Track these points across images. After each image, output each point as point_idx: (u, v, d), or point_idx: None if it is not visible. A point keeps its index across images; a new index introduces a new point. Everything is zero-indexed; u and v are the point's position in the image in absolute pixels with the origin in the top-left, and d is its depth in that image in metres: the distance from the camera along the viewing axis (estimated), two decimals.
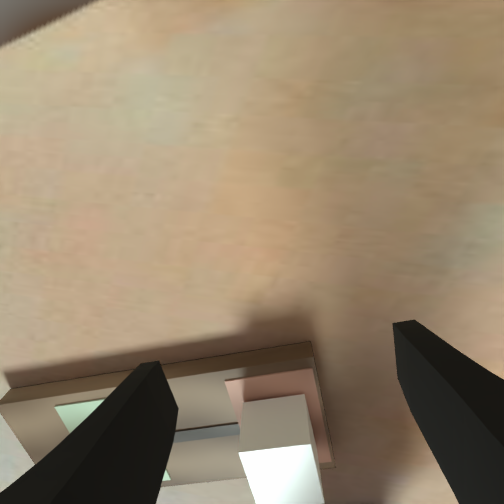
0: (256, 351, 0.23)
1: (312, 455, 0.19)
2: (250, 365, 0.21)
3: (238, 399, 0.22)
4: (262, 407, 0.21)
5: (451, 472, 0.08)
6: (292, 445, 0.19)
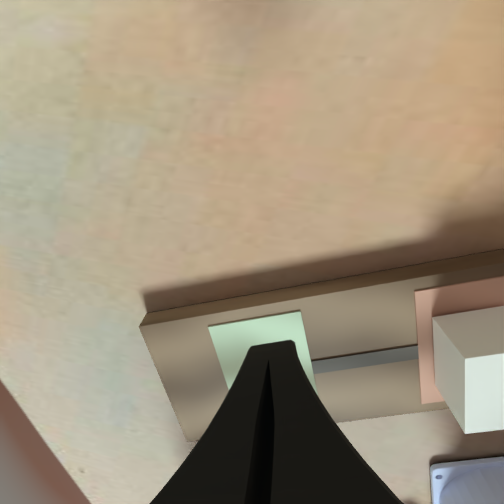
0: (443, 261, 0.20)
1: None
2: (448, 271, 0.19)
3: (424, 315, 0.20)
4: (462, 319, 0.19)
5: None
6: None
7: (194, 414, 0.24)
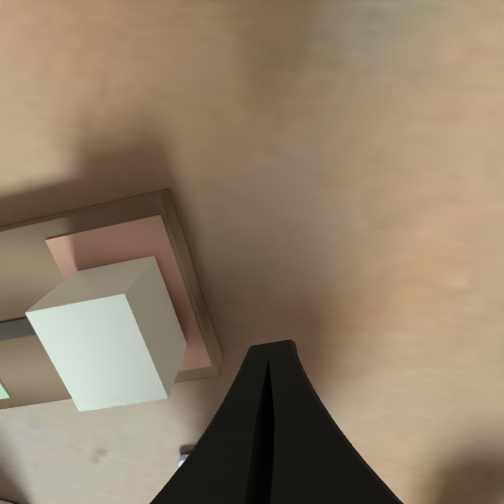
0: (97, 205, 0.16)
1: (132, 315, 0.13)
2: (77, 213, 0.15)
3: (72, 270, 0.16)
4: (94, 272, 0.15)
5: None
6: (99, 298, 0.12)
7: None
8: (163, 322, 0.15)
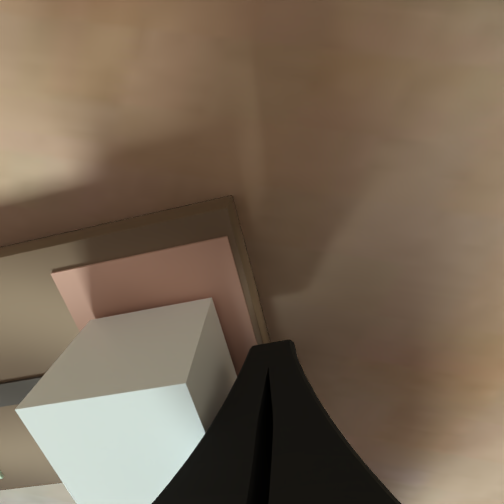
0: (126, 220, 0.11)
1: (196, 415, 0.07)
2: (98, 235, 0.10)
3: (89, 315, 0.11)
4: (121, 323, 0.10)
5: None
6: (142, 389, 0.07)
7: None
8: None
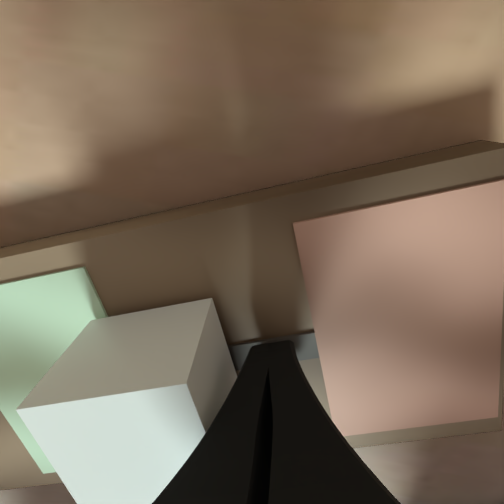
0: (357, 169, 0.10)
1: (196, 415, 0.07)
2: (356, 179, 0.09)
3: (320, 272, 0.10)
4: (122, 324, 0.10)
5: None
6: (142, 389, 0.07)
7: None
8: None
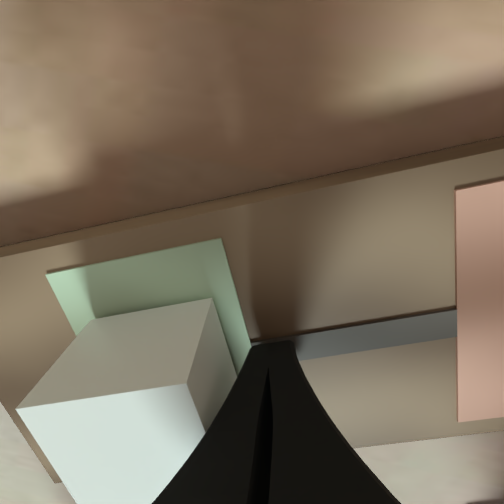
0: None
1: (196, 415, 0.07)
2: None
3: (473, 244, 0.10)
4: (122, 323, 0.10)
5: None
6: (142, 389, 0.07)
7: None
8: None
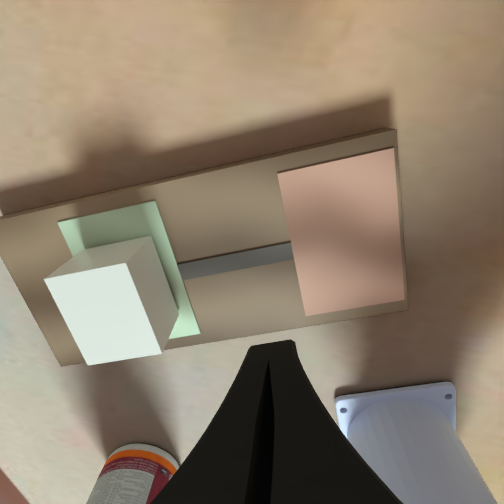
0: (315, 144, 0.18)
1: (132, 281, 0.15)
2: (312, 148, 0.17)
3: (293, 204, 0.18)
4: (99, 249, 0.18)
5: None
6: (105, 266, 0.15)
7: (62, 332, 0.21)
8: (158, 291, 0.18)
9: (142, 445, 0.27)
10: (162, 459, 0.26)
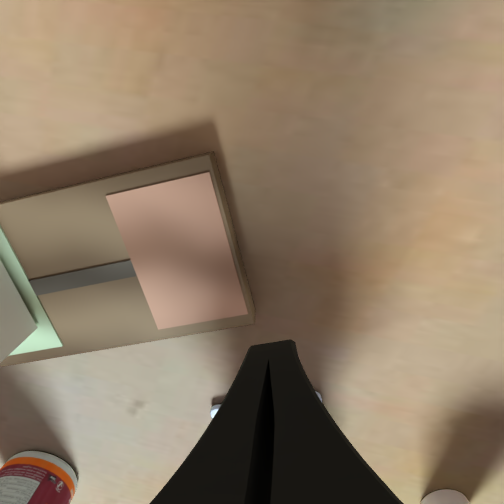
0: None
1: None
2: (135, 172, 0.17)
3: (127, 224, 0.18)
4: None
5: None
6: None
7: None
8: (0, 307, 0.19)
9: (35, 452, 0.27)
10: (53, 466, 0.27)
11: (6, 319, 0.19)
